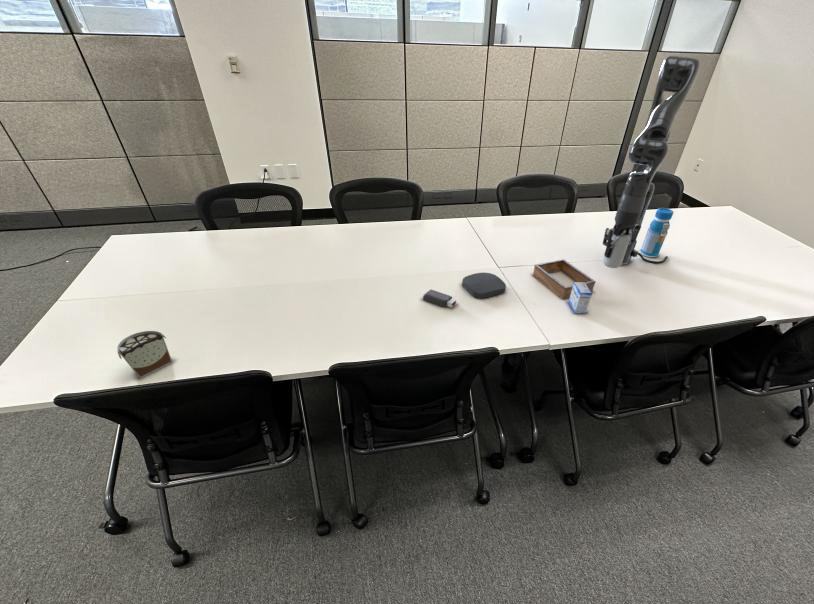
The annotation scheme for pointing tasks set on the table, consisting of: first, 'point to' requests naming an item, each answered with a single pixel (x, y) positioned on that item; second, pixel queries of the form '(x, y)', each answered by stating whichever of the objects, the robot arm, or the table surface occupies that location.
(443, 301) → the usb drive
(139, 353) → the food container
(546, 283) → the wooden tray
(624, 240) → the beverage can
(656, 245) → the beverage bottle
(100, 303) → the table surface
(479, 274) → the media streaming box
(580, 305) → the medicine box
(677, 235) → the table surface
